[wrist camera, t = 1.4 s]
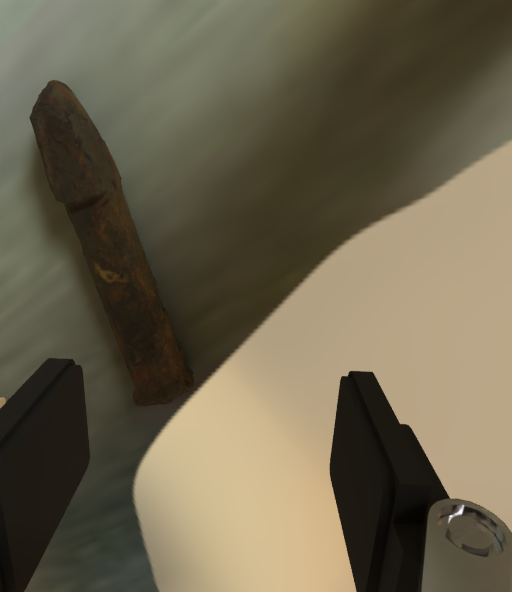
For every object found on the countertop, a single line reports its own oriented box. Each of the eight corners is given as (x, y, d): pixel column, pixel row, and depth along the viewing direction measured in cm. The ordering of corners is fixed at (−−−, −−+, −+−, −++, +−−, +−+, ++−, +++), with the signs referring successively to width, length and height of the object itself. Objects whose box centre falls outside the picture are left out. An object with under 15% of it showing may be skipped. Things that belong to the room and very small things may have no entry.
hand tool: (199, 371, 31) (190, 409, 26) (143, 382, 31) (125, 421, 27) (116, 75, 25) (87, 60, 20) (47, 91, 25) (4, 80, 21)
